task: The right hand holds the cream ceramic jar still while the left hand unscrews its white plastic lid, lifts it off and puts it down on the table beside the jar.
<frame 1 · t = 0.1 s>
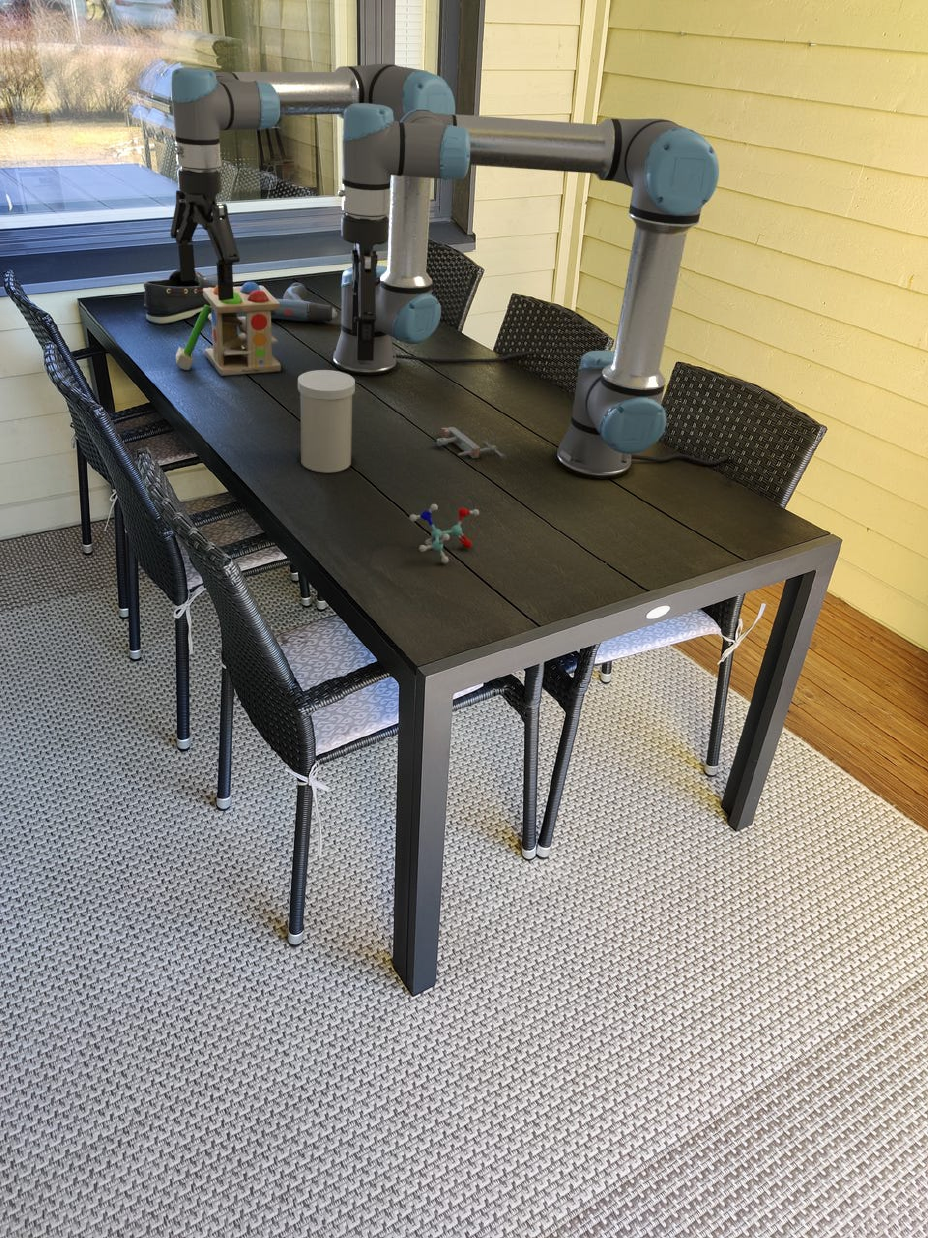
left hand: (206, 289, 186), 28 cm above the table, tool pointing down, fingers open, 13 cm apart
right hand: (362, 345, 167), 28 cm above the table, tool pointing down, fingers open, 13 cm apart
clamp: (466, 451, 202), on the table
jar: (326, 461, 193), on the table
boat shoe: (192, 307, 263), on the table
pounding bench toy: (225, 365, 230), on the table
lid: (326, 381, 183), point 16 cm above the table, screwed on, not yet turned
power drill: (305, 313, 267), on the table
molecular model: (439, 550, 168), on the table
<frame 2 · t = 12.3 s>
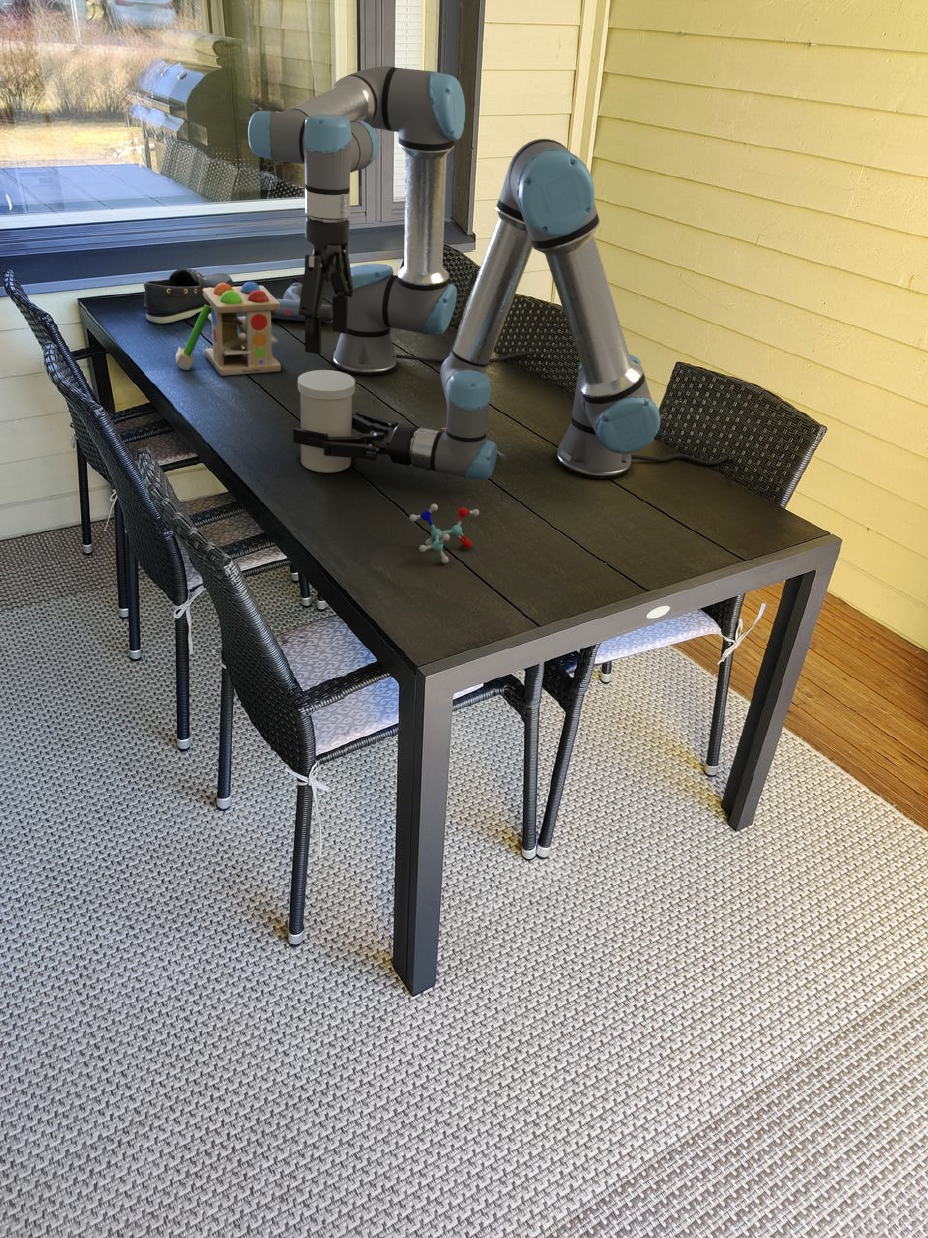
left hand: (326, 341, 179), 24 cm above the table, tool pointing down, fingers open, 12 cm apart
right hand: (305, 425, 190), 7 cm above the table, tool horizontal, fingers closed on jar, 10 cm apart
jar: (326, 461, 193), on the table, touching right hand
everything else where it was.
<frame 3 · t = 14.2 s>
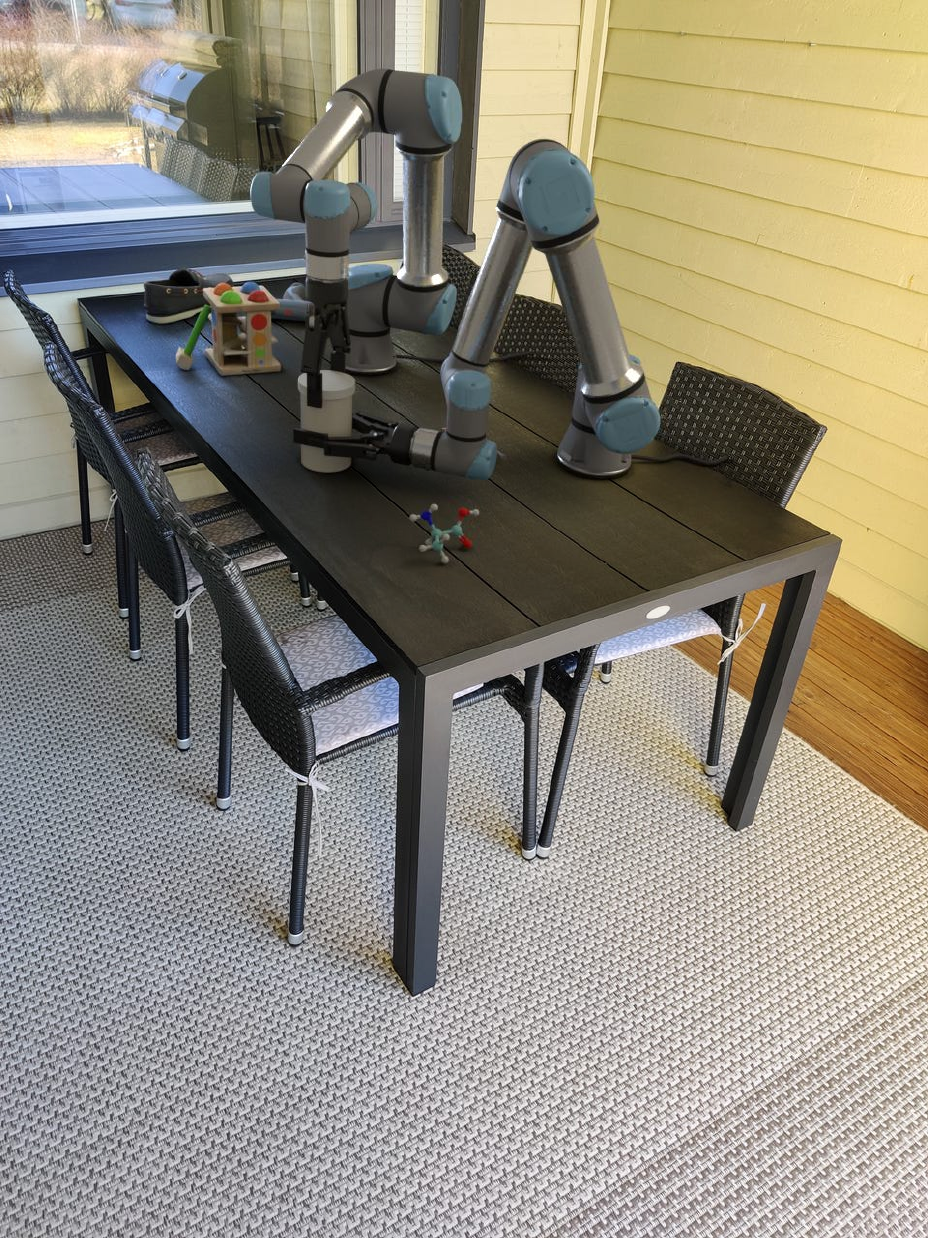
left hand: (326, 396, 185), 13 cm above the table, tool pointing down, fingers closed on lid, 11 cm apart
right hand: (305, 425, 190), 7 cm above the table, tool horizontal, fingers closed on jar, 10 cm apart
jar: (326, 461, 193), on the table, touching right hand
lid: (326, 381, 183), point 16 cm above the table, screwed on, not yet turned, touching left hand
everything else where it was.
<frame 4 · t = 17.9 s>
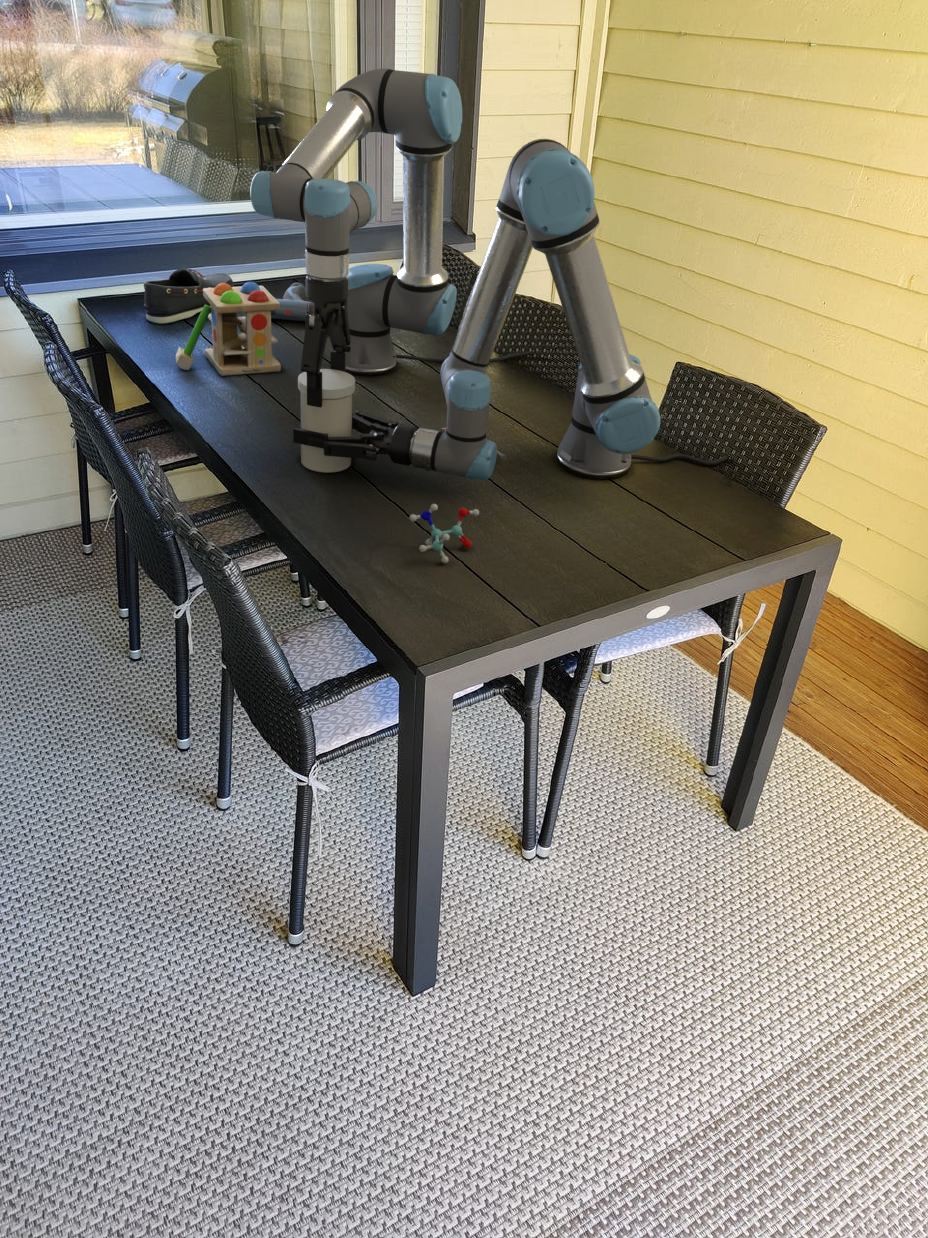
left hand: (326, 395, 185), 14 cm above the table, tool pointing down, fingers closed on lid, 11 cm apart
right hand: (305, 425, 190), 7 cm above the table, tool horizontal, fingers closed on jar, 10 cm apart
jar: (326, 461, 193), on the table, touching right hand
lid: (326, 380, 183), point 17 cm above the table, turned 133° so far, risen 0.2 cm, still on its thread, touching left hand
everything else where it was.
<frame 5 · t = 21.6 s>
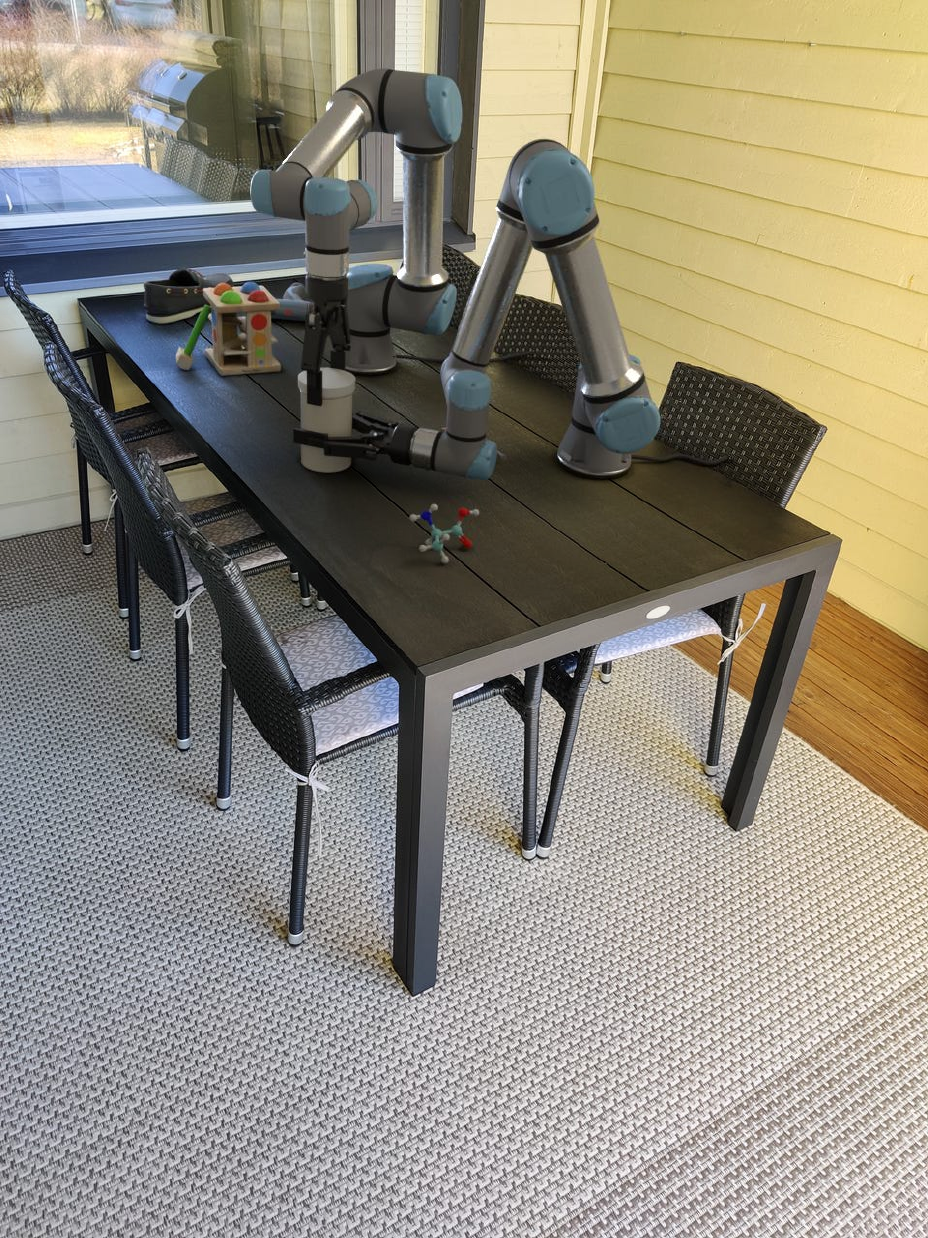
left hand: (326, 394, 185), 14 cm above the table, tool pointing down, fingers closed on lid, 11 cm apart
right hand: (305, 425, 190), 7 cm above the table, tool horizontal, fingers closed on jar, 10 cm apart
jar: (326, 461, 193), on the table, touching right hand
lid: (326, 379, 183), point 17 cm above the table, turned 266° so far, risen 0.5 cm, still on its thread, touching left hand
everything else where it was.
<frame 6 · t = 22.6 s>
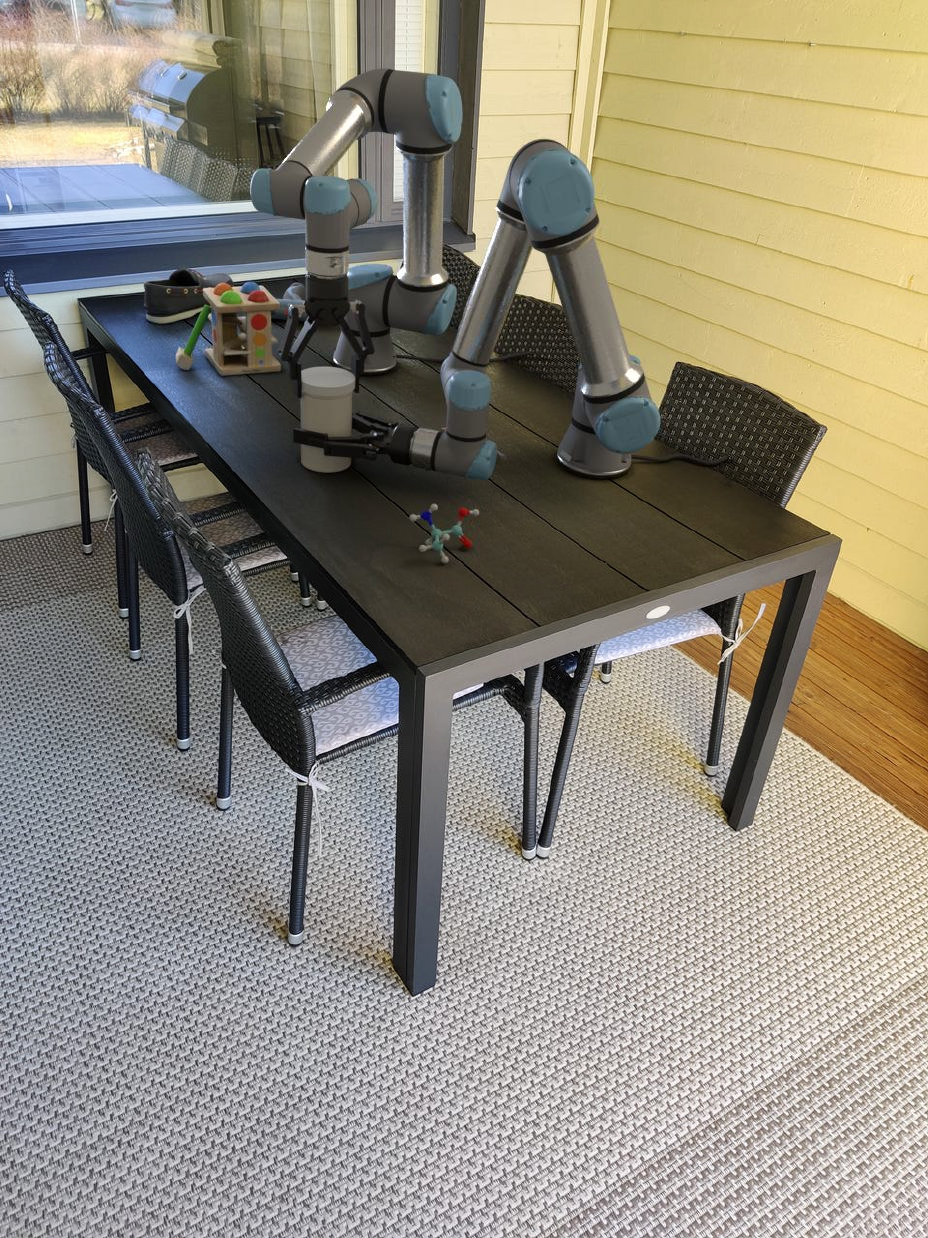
left hand: (326, 392, 185), 14 cm above the table, tool pointing down, fingers closed on lid, 10 cm apart
right hand: (305, 425, 190), 7 cm above the table, tool horizontal, fingers closed on jar, 10 cm apart
jar: (326, 461, 193), on the table, touching right hand
lid: (326, 378, 183), point 17 cm above the table, off its thread, touching left hand
everything else where it was.
when the left hand's fingers open (0 cm above the table, at t = 28.0 s): lid drops 2 cm, point 1 cm above the table.
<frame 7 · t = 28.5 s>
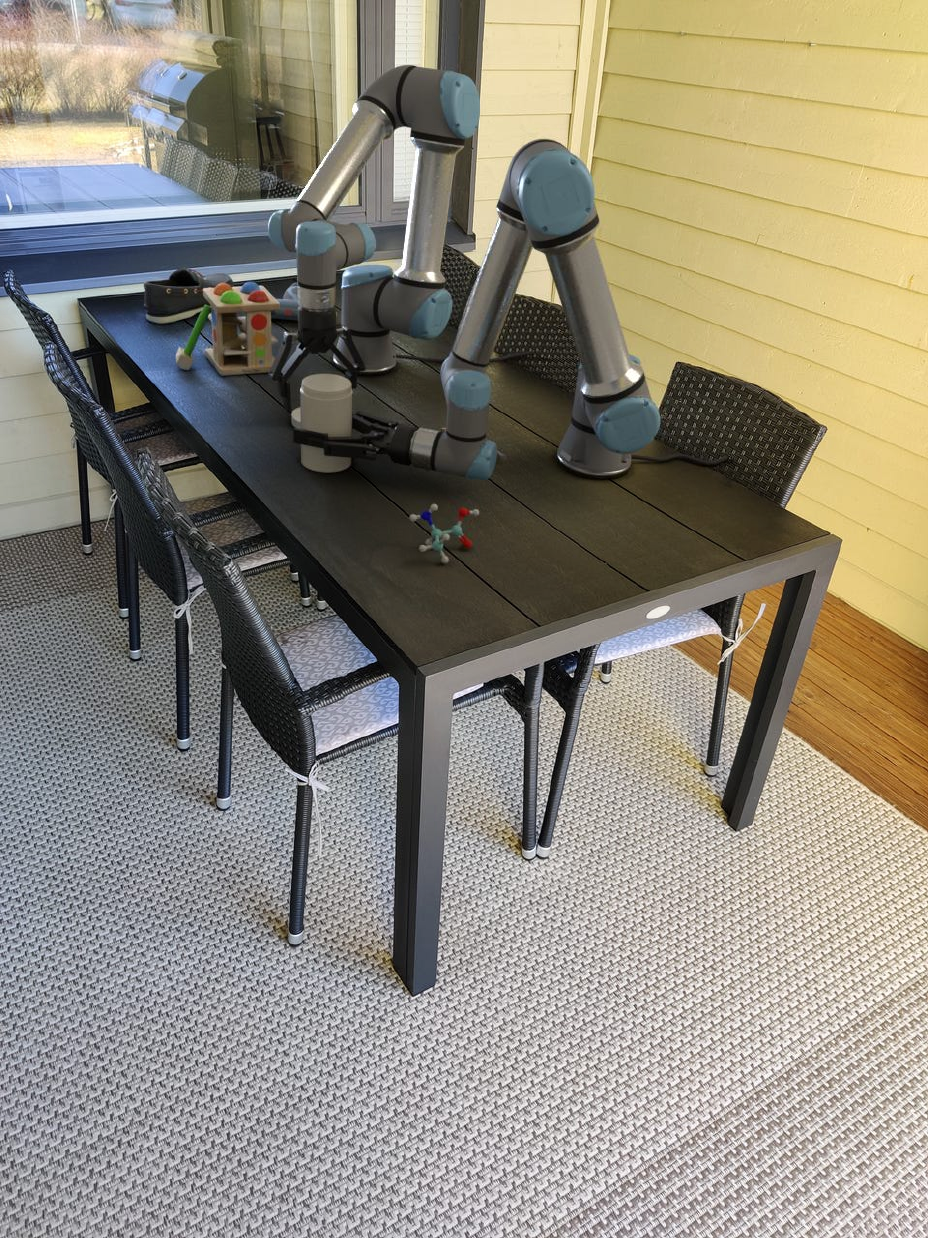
left hand: (318, 407, 206), 3 cm above the table, tool pointing down, fingers open, 13 cm apart
right hand: (305, 425, 190), 7 cm above the table, tool horizontal, fingers closed on jar, 10 cm apart
jar: (326, 461, 193), on the table, touching right hand
lid: (316, 416, 207), point 1 cm above the table, off its thread
everything else where it was.
when the right hand's fingers open (7 cm above the table, at t = 29.0 s): jar stays where it is, on the table.
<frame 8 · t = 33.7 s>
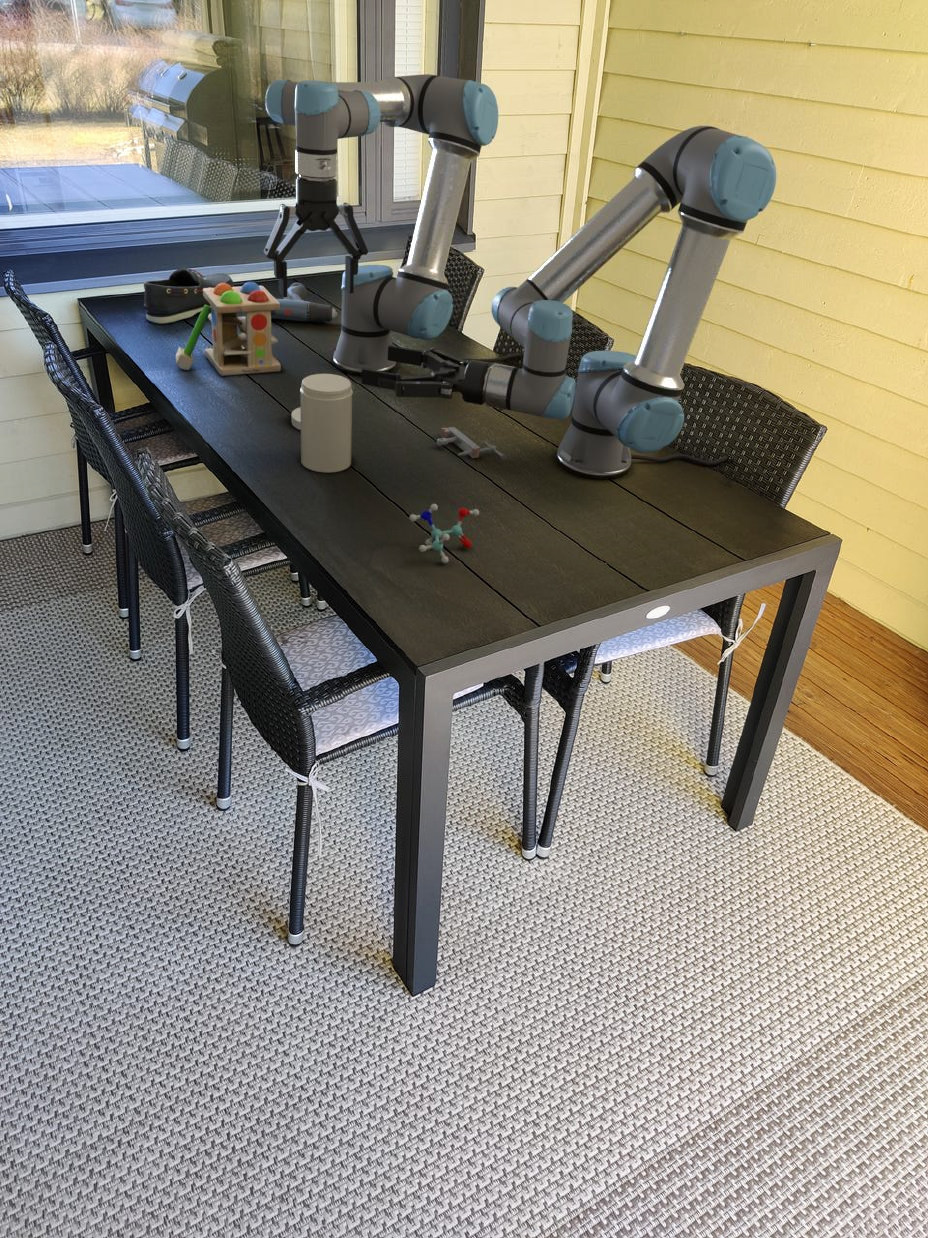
left hand: (316, 293, 192), 27 cm above the table, tool pointing down, fingers open, 13 cm apart
right hand: (375, 363, 179), 22 cm above the table, tool horizontal, fingers open, 13 cm apart
jar: (326, 461, 193), on the table
everything else where it was.
at the end: lid came off its thread; lid point 1.4 cm above the table; the left hand is holding nothing; the right hand is holding nothing; jar tilted 0°; jar moved 0.0 cm from its start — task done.
